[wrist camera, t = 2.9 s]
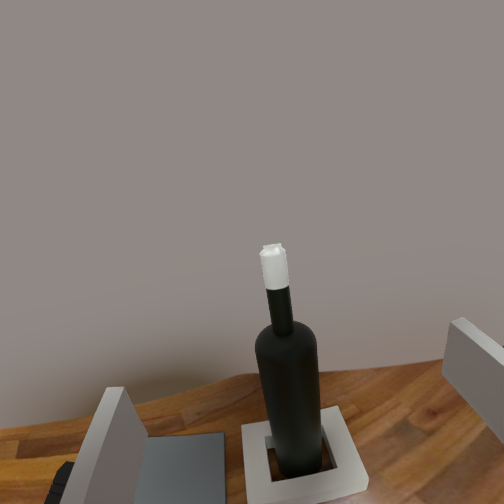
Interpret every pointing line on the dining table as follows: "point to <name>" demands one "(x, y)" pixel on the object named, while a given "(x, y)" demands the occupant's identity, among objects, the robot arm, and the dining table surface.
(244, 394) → the dining table surface
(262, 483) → the frame
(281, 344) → the wine bottle
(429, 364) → the dining table surface
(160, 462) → the coaster mat
